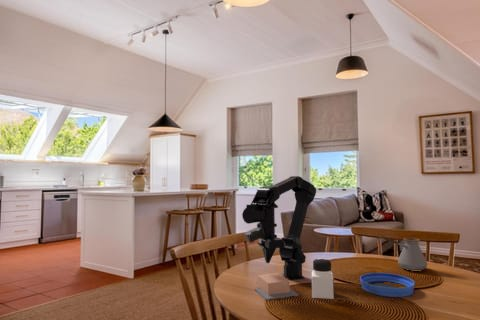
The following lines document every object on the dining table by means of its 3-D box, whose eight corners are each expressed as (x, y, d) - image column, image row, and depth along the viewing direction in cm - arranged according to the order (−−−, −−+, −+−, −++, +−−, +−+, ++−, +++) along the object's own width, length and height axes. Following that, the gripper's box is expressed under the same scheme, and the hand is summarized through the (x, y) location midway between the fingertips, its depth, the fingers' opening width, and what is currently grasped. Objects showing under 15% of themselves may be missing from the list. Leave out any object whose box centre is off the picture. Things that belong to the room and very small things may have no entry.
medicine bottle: (334, 299, 114) (333, 262, 114) (312, 298, 115) (311, 261, 116) (332, 292, 121) (332, 257, 121) (311, 291, 122) (311, 256, 123)
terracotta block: (277, 273, 130) (289, 280, 120) (277, 283, 129) (289, 292, 120) (257, 275, 127) (268, 283, 118) (257, 286, 127) (268, 295, 118)
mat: (285, 285, 128) (285, 284, 128) (298, 295, 118) (298, 294, 118) (254, 289, 124) (254, 288, 124) (266, 300, 114) (266, 298, 114)
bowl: (411, 284, 130) (410, 274, 130) (418, 301, 112) (418, 290, 113) (360, 279, 135) (359, 270, 136) (360, 295, 118) (360, 284, 118)
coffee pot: (414, 264, 155) (413, 231, 156) (434, 271, 144) (433, 235, 145) (372, 268, 150) (371, 233, 151) (390, 276, 139) (389, 238, 140)
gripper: (238, 218, 136) (239, 259, 135) (255, 225, 118) (256, 271, 117) (265, 217, 139) (265, 256, 138) (285, 223, 121) (286, 268, 121)
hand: (267, 262), depth 129 cm, fingers closed
